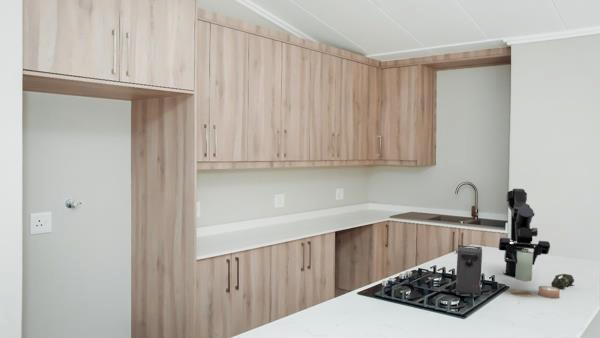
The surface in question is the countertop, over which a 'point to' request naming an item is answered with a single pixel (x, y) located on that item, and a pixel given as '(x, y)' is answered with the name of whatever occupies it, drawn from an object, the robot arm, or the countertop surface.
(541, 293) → the ramekin
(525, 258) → the cloche
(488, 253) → the countertop surface
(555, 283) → the green toy tank
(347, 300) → the countertop surface
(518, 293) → the cork mat
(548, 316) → the countertop surface
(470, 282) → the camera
